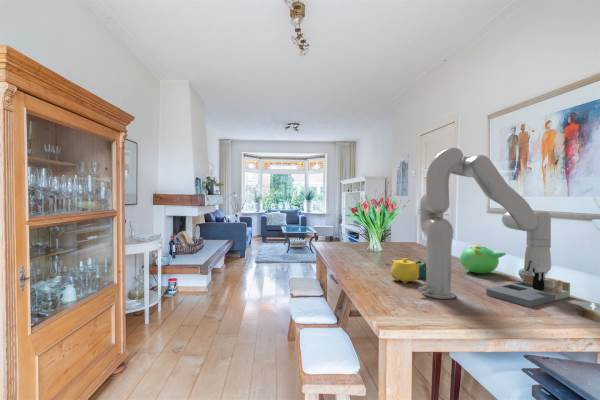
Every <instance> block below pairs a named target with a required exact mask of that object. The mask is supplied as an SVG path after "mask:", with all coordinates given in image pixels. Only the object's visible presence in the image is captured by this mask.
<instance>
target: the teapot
mask: <svg viewBox="0 0 600 400" xmlns="http://www.w3.org/2000/svg"><path fill="white" fill-rule="evenodd" d="M420 265H421V264H417V265H416V263H415V262H414V261H412V260H408V258H401V259H399V260H397V259H396V260H395V259H392V260H391V270H390V275H391V277H392V278H393V279H394V281H396V282H399V281H401V282H402V284H405V285H406V284H408V282H411V283H416V281H417V280H418V279H419V266H420Z"/></svg>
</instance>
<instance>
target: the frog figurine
mask: <svg viewBox="0 0 600 400" xmlns="http://www.w3.org/2000/svg"><path fill="white" fill-rule="evenodd" d="M524 274H528V275H529V271H525V270H524V267H523V268H520V269H518V276H519V277H520V279H521V280H522V281H524Z"/></svg>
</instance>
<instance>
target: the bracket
mask: <svg viewBox="0 0 600 400" xmlns="http://www.w3.org/2000/svg"><path fill="white" fill-rule="evenodd" d="M413 262H415V263H416V265H417V264H421V265H420V266H419V278H418V279H420V280H426V261H425V262H424V261H421V260H414V261H413Z"/></svg>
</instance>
